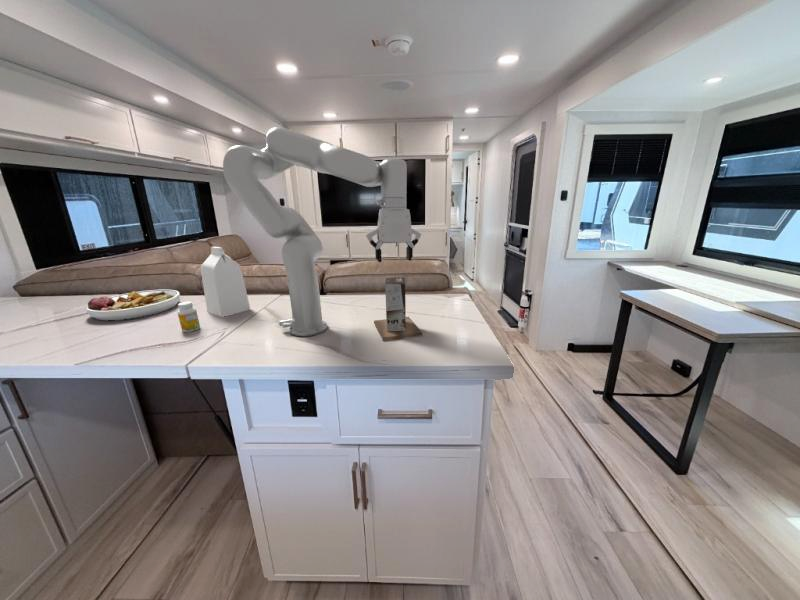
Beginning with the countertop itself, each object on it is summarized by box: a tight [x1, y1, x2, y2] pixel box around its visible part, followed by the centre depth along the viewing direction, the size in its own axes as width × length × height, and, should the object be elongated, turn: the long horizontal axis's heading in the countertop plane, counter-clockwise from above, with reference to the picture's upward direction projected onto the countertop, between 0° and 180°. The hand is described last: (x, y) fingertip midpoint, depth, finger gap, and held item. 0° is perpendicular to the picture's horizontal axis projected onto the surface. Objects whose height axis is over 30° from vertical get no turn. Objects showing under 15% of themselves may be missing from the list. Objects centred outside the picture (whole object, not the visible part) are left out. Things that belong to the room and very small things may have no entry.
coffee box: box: [384, 276, 407, 331], centre depth 101 cm, size 9×6×16 cm
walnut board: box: [373, 316, 423, 342], centre depth 103 cm, size 13×15×1 cm
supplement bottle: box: [177, 300, 201, 333], centre depth 106 cm, size 5×5×10 cm
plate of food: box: [86, 289, 181, 321], centre depth 128 cm, size 30×30×8 cm
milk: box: [200, 246, 251, 318], centre depth 122 cm, size 12×12×26 cm
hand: (394, 260), depth 97 cm, fingers open, 9 cm apart
